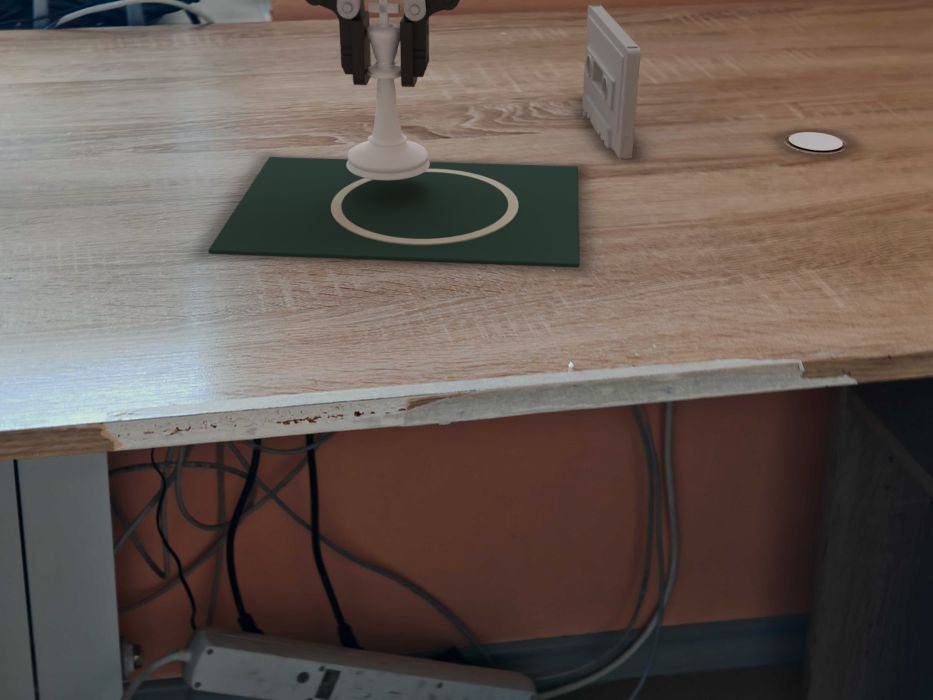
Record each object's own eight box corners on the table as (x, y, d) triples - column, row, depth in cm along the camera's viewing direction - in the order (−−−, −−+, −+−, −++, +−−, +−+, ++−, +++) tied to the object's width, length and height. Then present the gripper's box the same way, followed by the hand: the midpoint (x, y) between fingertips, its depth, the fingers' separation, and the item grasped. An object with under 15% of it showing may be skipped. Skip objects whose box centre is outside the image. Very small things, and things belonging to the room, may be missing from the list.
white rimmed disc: (771, 148, 73) (773, 139, 73) (806, 135, 76) (807, 127, 75) (822, 165, 71) (824, 156, 71) (856, 151, 73) (858, 142, 73)
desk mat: (209, 263, 59) (207, 247, 58) (270, 167, 71) (268, 154, 70) (578, 277, 57) (579, 261, 57) (577, 177, 69) (577, 163, 69)
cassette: (639, 166, 71) (649, 49, 67) (611, 167, 71) (620, 50, 67) (599, 107, 81) (606, 3, 77) (575, 108, 81) (580, 4, 77)
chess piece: (356, 147, 67) (349, -20, 61) (435, 152, 66) (435, -17, 61) (337, 178, 62) (328, 0, 57) (421, 183, 62) (420, 4, 57)
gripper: (215, -268, 50) (250, 98, 59) (516, -264, 49) (504, 108, 58) (255, -272, 56) (281, 59, 65) (521, -268, 55) (510, 67, 64)
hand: (386, 81), depth 62 cm, fingers closed on chess piece
